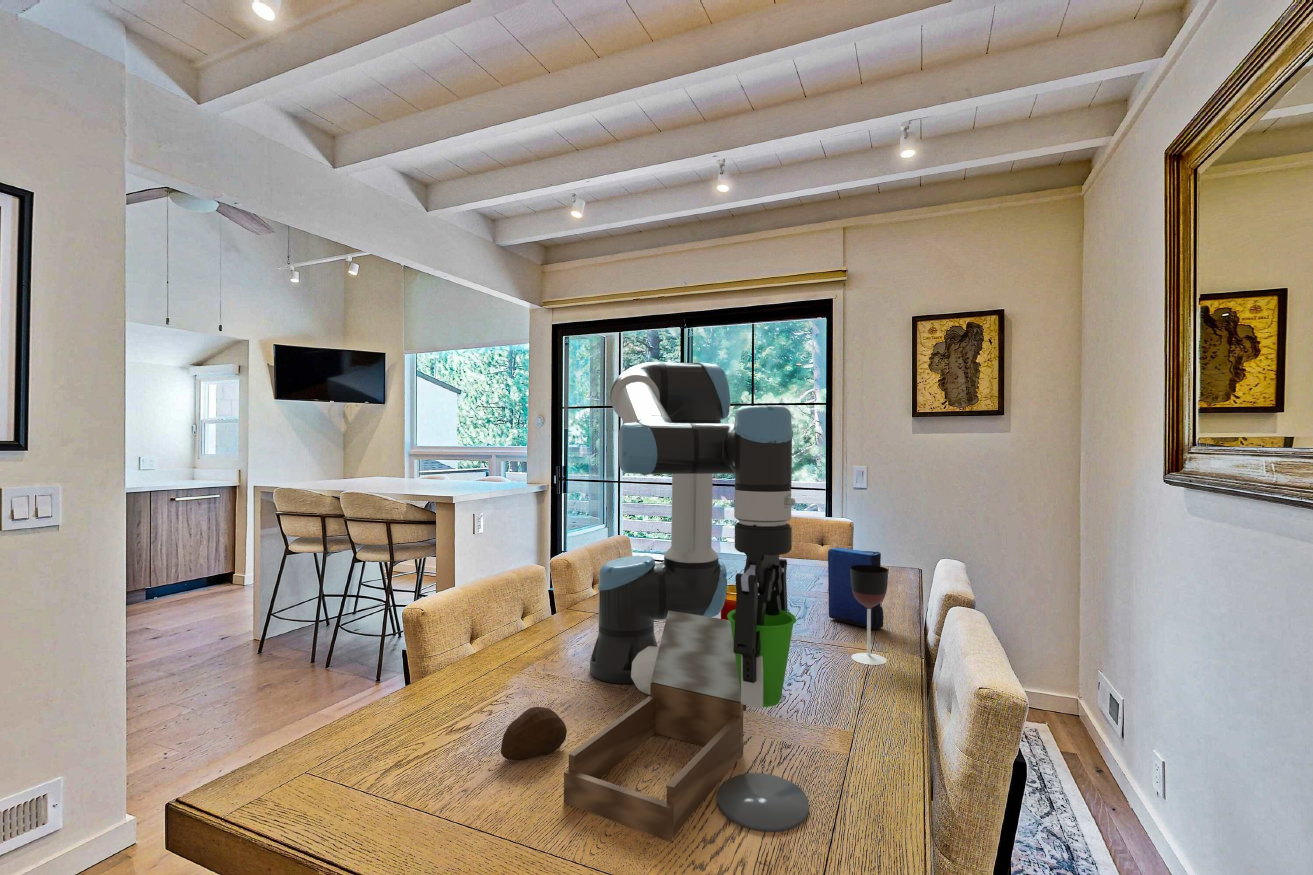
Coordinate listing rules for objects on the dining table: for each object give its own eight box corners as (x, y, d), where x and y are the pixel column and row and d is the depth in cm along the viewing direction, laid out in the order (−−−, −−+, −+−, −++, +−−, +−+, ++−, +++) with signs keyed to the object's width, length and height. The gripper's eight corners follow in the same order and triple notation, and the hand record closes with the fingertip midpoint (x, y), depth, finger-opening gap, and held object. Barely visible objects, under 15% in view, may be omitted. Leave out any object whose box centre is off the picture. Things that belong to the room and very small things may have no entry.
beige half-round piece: (615, 683, 117) (659, 711, 108) (630, 636, 118) (674, 660, 109) (645, 685, 123) (689, 711, 114) (659, 640, 124) (703, 663, 116)
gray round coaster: (702, 813, 79) (702, 807, 79) (736, 770, 90) (737, 764, 90) (792, 843, 73) (792, 836, 73) (819, 793, 84) (819, 787, 84)
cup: (797, 717, 76) (797, 628, 76) (723, 710, 77) (724, 623, 78) (795, 688, 85) (795, 608, 85) (729, 683, 86) (729, 605, 86)
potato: (492, 754, 94) (492, 709, 94) (553, 735, 100) (553, 692, 100) (510, 774, 88) (511, 726, 88) (574, 752, 95) (574, 707, 95)
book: (885, 628, 158) (886, 551, 158) (875, 632, 155) (875, 553, 155) (836, 616, 169) (836, 544, 169) (825, 620, 165) (826, 546, 166)
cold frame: (563, 802, 81) (564, 662, 82) (669, 715, 107) (670, 609, 108) (669, 841, 74) (670, 686, 74) (756, 737, 100) (756, 623, 100)
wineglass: (848, 662, 134) (848, 570, 134) (851, 650, 142) (851, 563, 142) (887, 667, 131) (887, 574, 131) (888, 654, 139) (888, 566, 139)
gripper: (764, 533, 71) (764, 731, 71) (811, 515, 89) (811, 674, 88) (705, 528, 75) (705, 716, 75) (761, 512, 92) (761, 665, 92)
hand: (762, 693), depth 81 cm, fingers closed on cup, 7 cm apart
